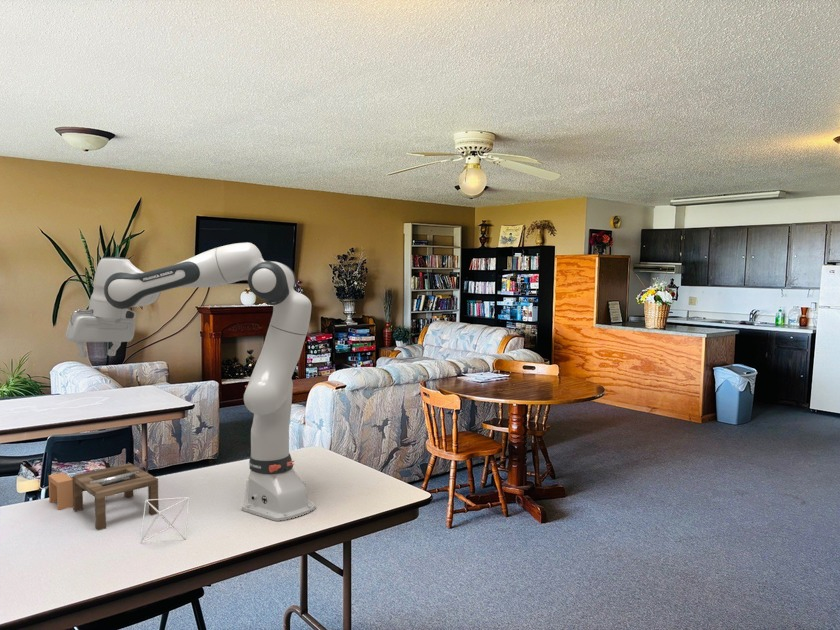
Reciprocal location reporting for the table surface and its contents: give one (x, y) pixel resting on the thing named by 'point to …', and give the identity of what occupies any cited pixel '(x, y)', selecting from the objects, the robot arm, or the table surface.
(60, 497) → the tan cardboard brick
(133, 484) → the small wooden table
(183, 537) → the geometric polyhedron
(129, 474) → the grey textured rod
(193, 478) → the table surface
